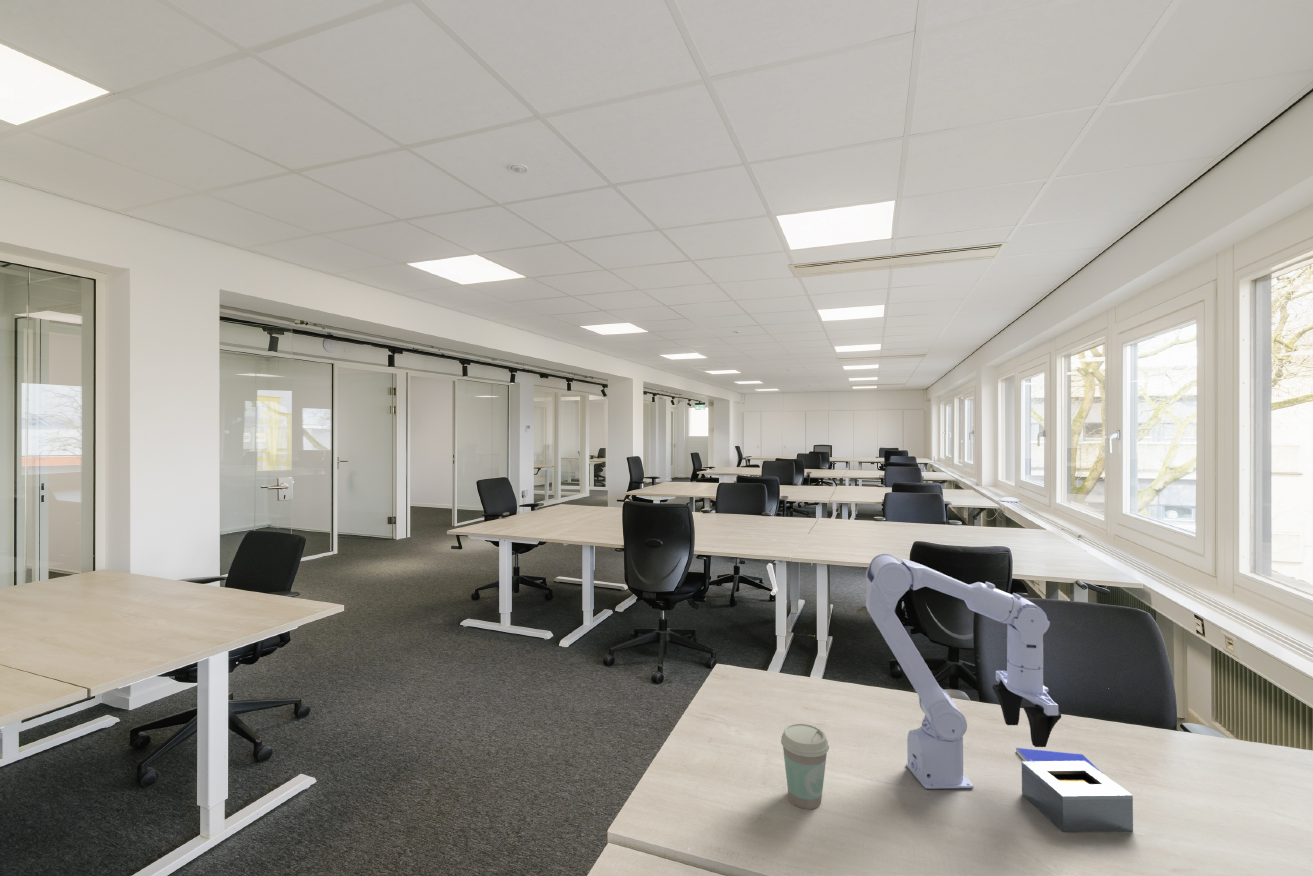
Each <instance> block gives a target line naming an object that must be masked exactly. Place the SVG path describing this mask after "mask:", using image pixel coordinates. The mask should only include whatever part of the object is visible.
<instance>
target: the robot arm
mask: <svg viewBox="0 0 1313 876" xmlns="http://www.w3.org/2000/svg"><path fill="white" fill-rule="evenodd" d="M898 558H899V559H898ZM898 558H897V557H895V556H894V555H892V554H889V553H880V554H877V555H875V556H874V557H873V558H872V559H871V561H870V562H869V565H868V567H867V568H866V572H865V577H866V589H865V608H866V610H867V613H868V614H869V615H870V617H871V619H872V620H873V623H874V624H875V625H876V627H877V629H878V630H879V632H880V634H881V635H882V638H883V639H884V641H885V643H886V644H887V645H888V647H889V649H890V651H891V652H892V654H893V655H894V657H895V659H896V660H897V662H898V664H899V665H900V666H901V669H902V670H903V672H904V674H905V675H906V677H907V679H908V680H909V682H910V684H911V686H912V687H913V689H914V690H915V692H916V694H917V696H918V700H919V701H918V703H919V708H920V709H921V711H922V713H924V717H923V719H922V722H921V726H920V727H917V728H915V729H911V730H909V731H908V733H907V739H906V740H907V742H906V743H907V761H906V762H905V766H906V767H907V768H908V770H909V771H910V772H911V773H912V775H914V777H915V778H916V779H917V781H919V783H920V784H921V785H922V786H923V788H925V789H926V790H927V789H929V790H931V789H932V790H935V789H938V790H939V789H941V790H942V789H973V788H974V784H973V782H971V781H970V780H969V779H968V778H967V777H966V776H965V775H964V735H965V734H966V732H967V729H968V723H967V719H966V717H965V716H964V714H963V713H962V711H960V710H959V708H958V707H957V705H956V704H955V702H954V701H953V698H952V697H951V694H949V693H948V692H947V690H945V689H943V688H942V687H941V686H940V685H939V682H937V680H936V678H935V676H934V675H933V672H932V671H931V670H930V668H929V667H928V664H927V663H926V662H925V660H924V658H923V656H922V655H921V653H920V652H919V650H918V649H917V647H916V645H915V643H914V642H913V639H912V638H911V637H910V635H909V633H908V631H906V629H905V628H904V626H903V624H902V622H901V620H900V619H899V617H898V616H897V614H896V612H895V609H896V607H897V605H898V601H900V599H901V598H902V597H903V596H904V595H905V594H906V592H908V590H909V588H910V589H911V590H913V591H917V590H919V589H921V588H924V587H927V588H930V589H931V590H934V591H938V592H940V593H943V594H946V595H949V596H950V597H951V596H952V597H953V598H957V599H959V600H962V601H964V602H965V605H966V606H967V607H966V608H967V609H968V610H969V611H973V612H975V613H977V614H980V615H982V616H985V617H988V618H989V619H992V620H993V621H997V622H999V623H1001V624H1006V625H1007V626H1006V627H1007V628H1006V629H1007V631H1006V632H1007V635H1006V651H1007V653H1006V658H1007V659H1006V670H995V681H997V682H998V684H992V687H991V688H992V690H993V692H994V693H995V695H996V697H997V700H998V702H999V705H1000V708H1001V711H1002V716H1003V720H1004V723H1005V725H1007V726H1018V725H1019V723H1020V713H1021V707H1022V706H1021V705H1022V703H1023V702H1022V701H1023V698H1024V699H1026V700H1028V701H1029V702H1031V703H1032V704H1034V706H1023V711H1024V712H1025V715H1026V717H1027V721H1028V723H1029V729H1030V741H1031V745H1032V746H1034V748H1046V747H1047V744H1048V741H1049V738H1050V735H1051V732H1052V731H1053V728H1054V727H1055V725H1056V724H1057V723H1058V722H1059V720H1060V719H1062V713H1061V712H1060V711H1059V704H1057V703H1056V702H1055V701H1054V700H1053V699H1052V698H1051V696H1050V695H1049V694H1048V693H1049V688H1048V687H1047V686H1045V685H1044V634H1045V633H1047V631H1048V630H1049V627H1050V625H1051V622H1050V621H1049V620H1048V616H1047V613H1046V612H1045V611H1044V610H1043V609H1042V608H1041V607H1040V606H1038V605H1037V604H1035V603H1033V602H1031V601H1030V600H1028V599H1027V598H1024V596H1022V595H1020V594H1019V593H1015V592H1013V593H1012V594H1011V593H1010V592H1009V593H1008V592H1006V591H1004V590H1001V589H999V588H997V587H996V584H994V583H991V582H988V581H985V583H983V582H980V581H977V582H974V583H970V584H968V583H965V582H964V581H961V580H958V579H956V578H953V577H952V576H948V575H946V574H944V573H942V572H941V571H937V570H936V569H933V568H930V567H928V566H927V565H923V564H922V563H921V564H920V563H918V562H915V561H912V560H909V559H906V558H902V557H898ZM899 560H900V561H899Z"/></svg>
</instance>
